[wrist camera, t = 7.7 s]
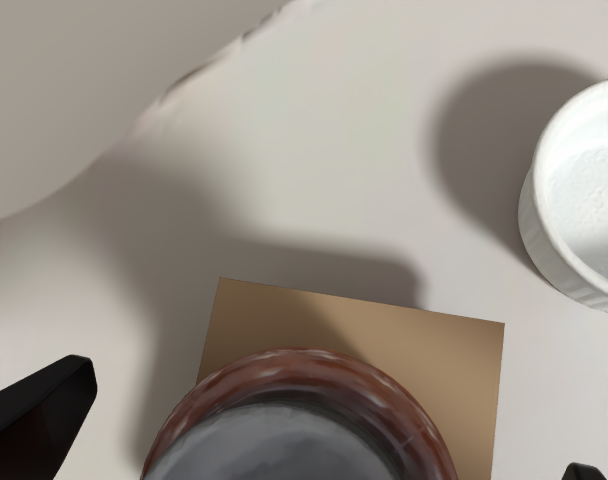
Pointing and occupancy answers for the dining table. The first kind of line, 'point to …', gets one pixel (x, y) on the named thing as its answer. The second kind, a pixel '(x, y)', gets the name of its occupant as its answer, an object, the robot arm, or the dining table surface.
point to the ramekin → (571, 199)
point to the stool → (377, 353)
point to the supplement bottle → (299, 424)
